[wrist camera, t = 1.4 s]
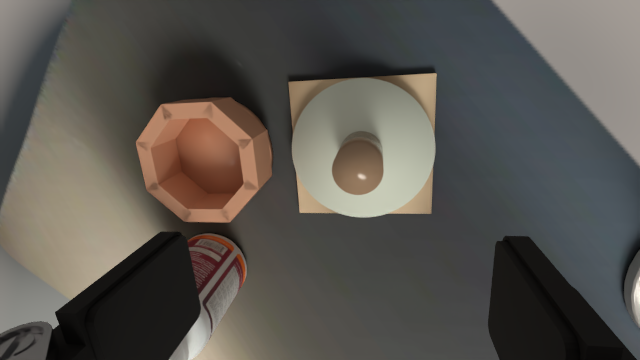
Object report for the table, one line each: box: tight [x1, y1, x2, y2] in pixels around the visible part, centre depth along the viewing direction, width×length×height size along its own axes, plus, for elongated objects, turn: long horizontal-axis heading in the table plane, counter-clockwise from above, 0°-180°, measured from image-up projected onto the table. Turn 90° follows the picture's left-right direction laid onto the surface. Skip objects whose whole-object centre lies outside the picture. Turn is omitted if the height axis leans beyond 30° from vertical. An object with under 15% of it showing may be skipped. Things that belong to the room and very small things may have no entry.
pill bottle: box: [169, 233, 247, 360], centre depth 26 cm, size 6×6×11 cm
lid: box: [292, 78, 435, 217], centre depth 23 cm, size 10×10×5 cm
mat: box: [289, 73, 437, 214], centre depth 25 cm, size 10×10×1 cm
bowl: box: [136, 97, 273, 222], centre depth 26 cm, size 8×8×4 cm
